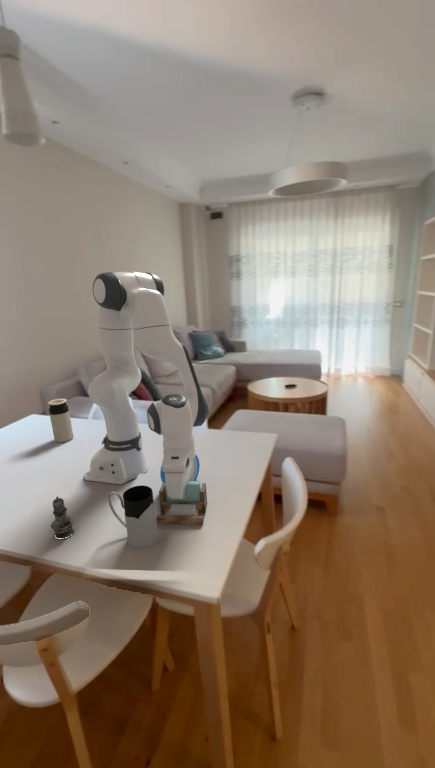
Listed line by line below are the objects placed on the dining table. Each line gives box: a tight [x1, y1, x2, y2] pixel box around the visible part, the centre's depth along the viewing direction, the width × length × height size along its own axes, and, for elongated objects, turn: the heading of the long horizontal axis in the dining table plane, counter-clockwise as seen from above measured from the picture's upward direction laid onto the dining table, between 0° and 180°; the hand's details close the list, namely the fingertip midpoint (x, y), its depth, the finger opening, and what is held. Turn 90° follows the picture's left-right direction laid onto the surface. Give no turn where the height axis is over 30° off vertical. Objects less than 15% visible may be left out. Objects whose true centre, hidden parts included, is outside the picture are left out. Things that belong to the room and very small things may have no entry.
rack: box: [156, 482, 208, 525], centre depth 109 cm, size 13×10×8 cm
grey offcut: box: [169, 504, 196, 516], centre depth 107 cm, size 7×3×2 cm, turn 84°
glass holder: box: [107, 485, 159, 549], centre depth 100 cm, size 9×14×15 cm, turn 66°
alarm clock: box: [159, 453, 201, 484], centre depth 124 cm, size 13×6×15 cm, turn 143°
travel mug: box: [47, 398, 74, 443], centre depth 167 cm, size 8×8×18 cm
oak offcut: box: [165, 509, 198, 516], centre depth 108 cm, size 9×3×2 cm, turn 84°
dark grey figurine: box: [50, 496, 75, 538], centre depth 104 cm, size 6×6×12 cm
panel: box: [165, 480, 201, 502], centre depth 111 cm, size 10×2×8 cm, turn 84°
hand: (183, 494), depth 111 cm, fingers closed on panel, 2 cm apart
